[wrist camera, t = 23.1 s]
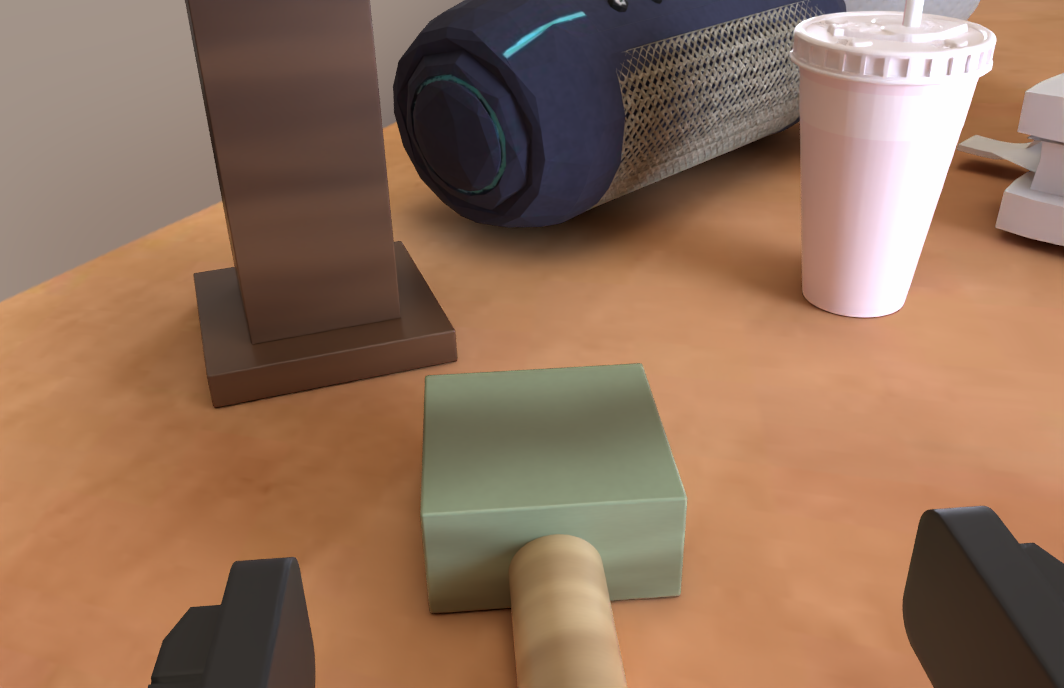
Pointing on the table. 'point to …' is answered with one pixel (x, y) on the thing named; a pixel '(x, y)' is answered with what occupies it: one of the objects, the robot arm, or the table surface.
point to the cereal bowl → (949, 3)
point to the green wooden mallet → (550, 510)
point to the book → (1033, 165)
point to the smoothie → (877, 145)
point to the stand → (303, 206)
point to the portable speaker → (590, 97)
